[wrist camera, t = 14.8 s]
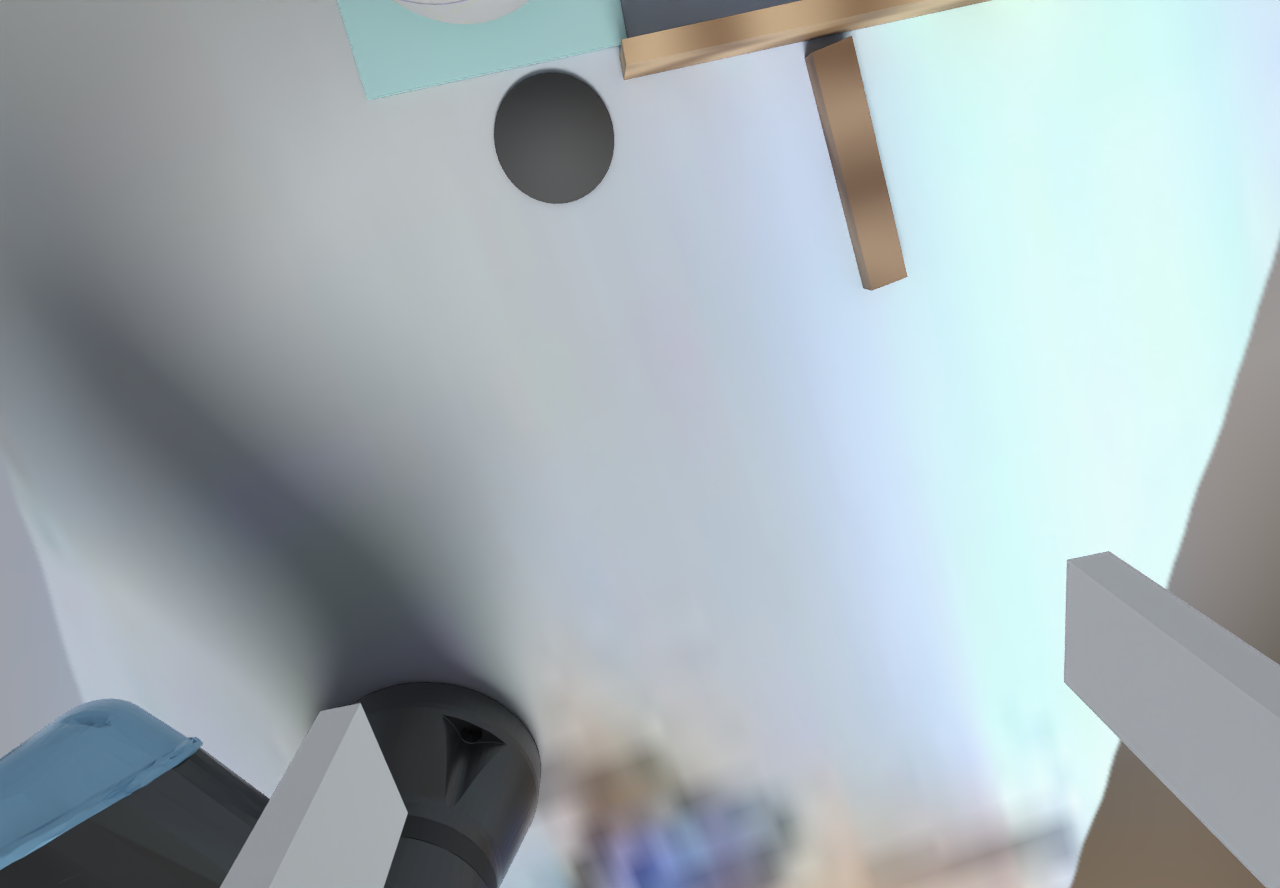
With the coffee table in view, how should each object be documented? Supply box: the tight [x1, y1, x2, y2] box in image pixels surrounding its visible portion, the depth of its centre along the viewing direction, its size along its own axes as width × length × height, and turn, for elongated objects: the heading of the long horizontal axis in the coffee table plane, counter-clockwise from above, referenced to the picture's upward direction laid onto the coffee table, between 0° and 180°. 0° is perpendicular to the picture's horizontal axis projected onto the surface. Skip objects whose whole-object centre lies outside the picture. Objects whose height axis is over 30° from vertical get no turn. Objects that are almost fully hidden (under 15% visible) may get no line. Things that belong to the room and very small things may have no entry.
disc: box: [494, 73, 614, 204], centre depth 33 cm, size 6×6×1 cm
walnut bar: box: [805, 36, 907, 290], centre depth 34 cm, size 12×2×2 cm, turn 21°
